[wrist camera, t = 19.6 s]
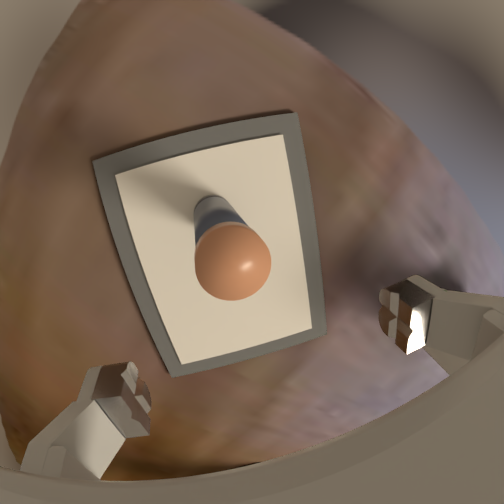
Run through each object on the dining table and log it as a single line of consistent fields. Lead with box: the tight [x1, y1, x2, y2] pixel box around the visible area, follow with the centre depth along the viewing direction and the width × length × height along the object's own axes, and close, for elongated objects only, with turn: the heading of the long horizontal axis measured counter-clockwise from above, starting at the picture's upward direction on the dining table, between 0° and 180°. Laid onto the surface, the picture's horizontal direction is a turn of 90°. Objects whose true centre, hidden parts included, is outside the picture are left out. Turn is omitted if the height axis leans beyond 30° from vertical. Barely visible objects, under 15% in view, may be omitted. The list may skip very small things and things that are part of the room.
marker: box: [193, 195, 271, 301], centre depth 20 cm, size 4×4×14 cm
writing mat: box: [92, 113, 327, 378], centre depth 29 cm, size 26×20×1 cm
